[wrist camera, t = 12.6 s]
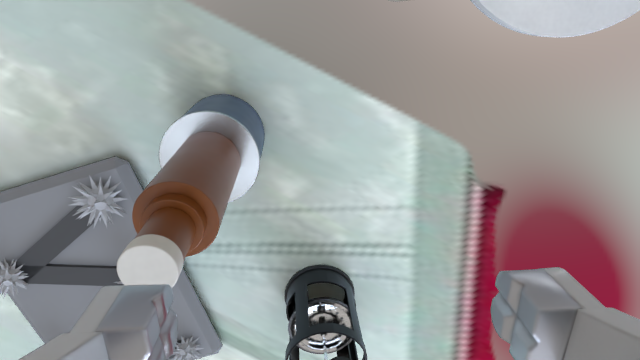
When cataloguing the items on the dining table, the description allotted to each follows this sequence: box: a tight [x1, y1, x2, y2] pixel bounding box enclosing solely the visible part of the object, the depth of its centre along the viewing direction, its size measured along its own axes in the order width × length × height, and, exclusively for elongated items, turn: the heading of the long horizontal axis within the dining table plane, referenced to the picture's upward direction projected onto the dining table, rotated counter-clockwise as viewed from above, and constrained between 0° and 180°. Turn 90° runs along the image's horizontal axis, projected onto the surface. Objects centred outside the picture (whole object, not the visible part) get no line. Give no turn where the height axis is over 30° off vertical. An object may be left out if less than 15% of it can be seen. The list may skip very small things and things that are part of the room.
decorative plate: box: [0, 156, 222, 360], centre depth 49 cm, size 30×22×7 cm
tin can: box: [159, 94, 265, 203], centre depth 42 cm, size 9×9×9 cm
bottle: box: [117, 132, 240, 287], centre depth 30 cm, size 6×6×18 cm
